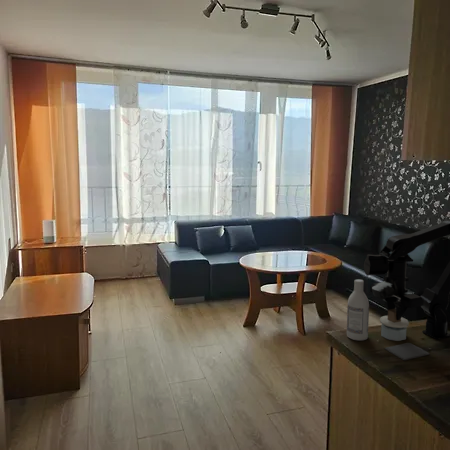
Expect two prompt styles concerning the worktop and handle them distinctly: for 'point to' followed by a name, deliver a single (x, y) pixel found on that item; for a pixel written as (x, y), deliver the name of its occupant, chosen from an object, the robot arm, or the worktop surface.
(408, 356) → the mat
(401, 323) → the lid
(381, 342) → the worktop surface
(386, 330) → the bowl
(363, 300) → the bath foam
